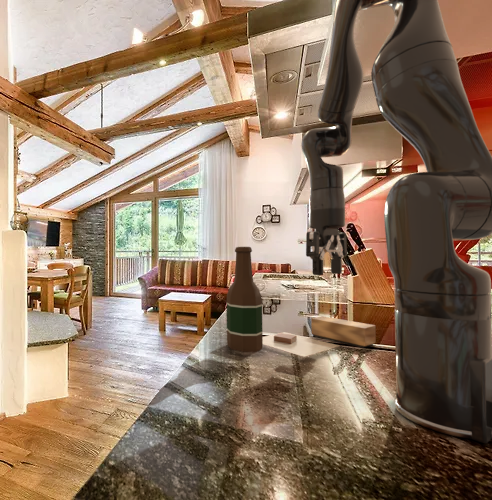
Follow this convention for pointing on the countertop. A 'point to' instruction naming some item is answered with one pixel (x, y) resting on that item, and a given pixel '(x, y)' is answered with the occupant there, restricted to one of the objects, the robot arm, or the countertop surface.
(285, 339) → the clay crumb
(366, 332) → the scrub brush
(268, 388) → the countertop surface
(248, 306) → the beer bottle
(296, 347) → the white tile
